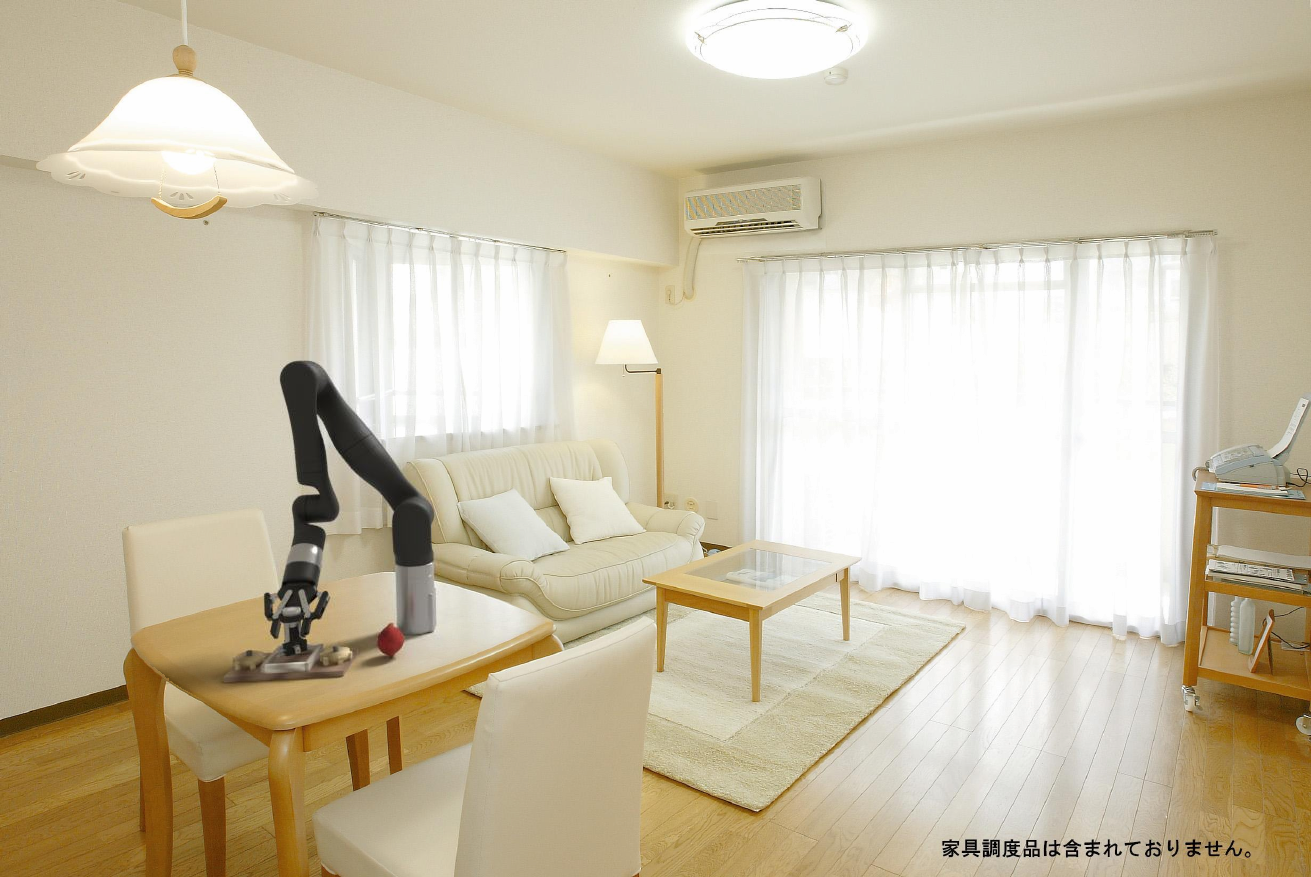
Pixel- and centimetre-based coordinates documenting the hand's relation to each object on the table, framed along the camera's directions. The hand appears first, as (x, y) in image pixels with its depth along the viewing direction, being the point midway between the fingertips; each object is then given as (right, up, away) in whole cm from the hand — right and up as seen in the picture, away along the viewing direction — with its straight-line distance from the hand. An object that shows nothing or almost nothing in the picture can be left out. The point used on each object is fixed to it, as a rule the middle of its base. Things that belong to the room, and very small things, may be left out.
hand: (289, 636), depth 167 cm
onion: (+19, -7, +9) cm, 22 cm away
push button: (-1, -5, +2) cm, 5 cm away
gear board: (0, -7, +3) cm, 8 cm away
